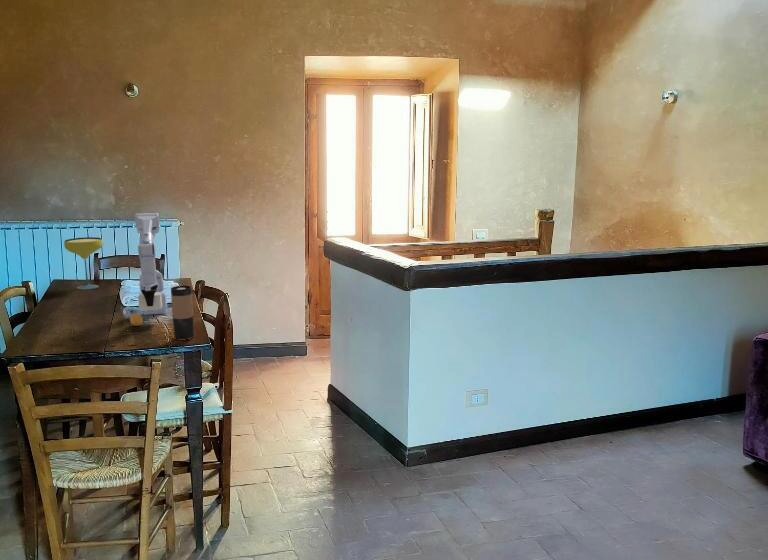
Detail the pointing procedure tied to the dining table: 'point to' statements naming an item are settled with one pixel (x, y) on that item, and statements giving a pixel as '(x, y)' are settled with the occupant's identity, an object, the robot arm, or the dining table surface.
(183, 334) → the travel mug
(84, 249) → the cocktail glass
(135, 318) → the ball
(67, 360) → the dining table surface
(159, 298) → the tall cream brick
